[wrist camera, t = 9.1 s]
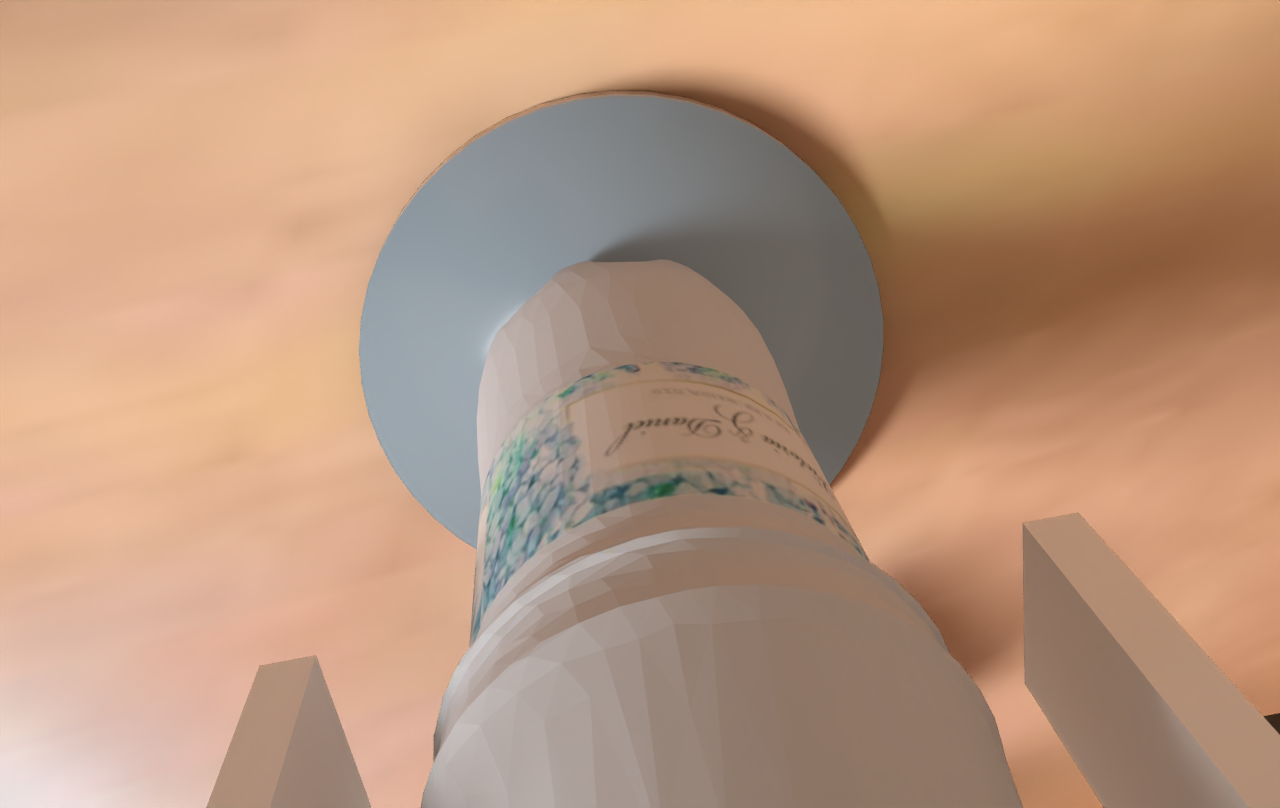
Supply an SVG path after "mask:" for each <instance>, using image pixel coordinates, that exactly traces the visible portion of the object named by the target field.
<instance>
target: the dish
mask: <svg viewBox="0 0 1280 808" xmlns="http://www.w3.org/2000/svg"><path fill="white" fill-rule="evenodd" d="M659 259H664V260H671V261H674V262H676V263H679V264H682V265H684V266H687V267H689V268H690V269H692V270H693V271H695V272H697V273H698V274H700V275H701V276H703V277H704V278H706V279H707V280H708V281H710V282H711V283H712V284H713V285H714V286H716V287H717V288H718V289H719V290H721V291H722V292H723V293H724V294H725V295H727V296H728V297H729V298H730V299H731V300H732V301H734V302H735V303H736V304H737V305H738V306H739V307H740V308H741V309H742V310H743V311H744V313H745V314H746V315H747V317H748V318H749V319H750V320H751V322H752V323H753V324H754V326H755V327H756V328H757V329H758V331H759V332H760V334H761V336H762V338H763V340H764V342H765V344H766V346H767V348H768V350H769V352H770V354H771V356H772V358H773V359H774V362H775V364H776V367H777V369H778V371H779V374H780V376H781V379H782V381H783V384H784V386H785V389H786V392H787V395H788V398H789V401H790V403H791V406H792V409H793V412H794V415H795V418H796V421H797V424H798V427H799V430H800V432H801V434H802V435H803V437H804V438H805V440H806V442H807V444H808V445H809V447H810V449H811V451H812V453H813V455H814V457H815V459H816V461H817V463H818V464H819V466H820V468H821V470H822V472H823V474H824V476H825V478H826V480H827V481H828V483H829V485H830V484H831V482H832V481H833V480H834V479H835V477H836V476H837V475H838V473H839V472H840V471H841V469H842V468H843V467H844V465H845V463H846V461H847V460H848V458H849V456H850V454H851V453H852V451H853V449H854V448H855V446H856V444H857V442H858V441H859V439H860V436H861V434H862V431H863V429H864V427H865V424H866V422H867V420H868V417H869V415H870V412H871V409H872V406H873V402H874V398H875V395H876V391H877V387H878V384H879V379H880V371H881V364H882V357H883V314H882V307H881V300H880V293H879V287H878V283H877V280H876V276H875V273H874V270H873V266H872V263H871V259H870V256H869V254H868V252H867V249H866V247H865V245H864V243H863V241H862V238H861V236H860V234H859V232H858V230H857V227H856V226H855V224H854V223H853V221H852V219H851V218H850V216H849V215H848V213H847V212H846V210H845V209H844V207H843V205H842V204H841V202H840V201H839V199H838V198H837V197H836V196H835V194H834V193H833V192H832V191H831V190H830V189H829V187H828V186H827V185H826V184H825V183H824V182H823V181H822V179H821V178H820V177H819V176H818V175H817V174H816V172H814V171H813V170H812V169H811V168H810V167H809V166H808V165H807V164H806V163H805V162H803V161H802V160H801V159H800V158H799V157H798V156H797V155H795V154H794V153H793V152H792V151H791V150H790V149H788V148H787V147H786V146H785V145H784V144H783V143H782V142H780V141H779V140H778V139H776V138H774V137H773V136H771V135H770V134H768V133H767V132H765V131H764V130H762V129H760V128H759V127H757V126H756V125H754V124H753V123H751V122H749V121H747V120H745V119H743V118H741V117H738V116H736V115H734V114H732V113H730V112H728V111H725V110H723V109H721V108H719V107H716V106H712V105H709V104H706V103H702V102H699V101H696V100H693V99H689V98H686V97H681V96H675V95H668V94H662V93H656V92H649V91H605V92H596V93H588V94H579V95H574V96H570V97H566V98H562V99H558V100H554V101H550V102H546V103H542V104H539V105H537V106H534V107H532V108H529V109H527V110H524V111H522V112H519V113H517V114H514V115H512V116H509V117H507V118H505V119H503V120H502V121H500V122H498V123H496V124H495V125H493V126H491V127H489V128H488V129H486V130H484V131H482V132H481V133H479V134H477V135H475V136H474V137H473V138H472V139H470V140H469V141H468V142H466V143H465V144H464V145H463V146H461V147H460V148H459V149H457V150H456V151H455V152H453V153H452V154H451V155H450V156H448V157H447V158H446V159H445V160H444V161H443V162H442V163H441V164H440V165H439V166H438V167H437V168H436V169H435V170H434V171H433V172H432V173H431V174H430V175H429V176H428V177H427V178H426V179H425V180H424V181H423V183H422V184H421V185H420V187H419V188H418V189H417V191H416V192H415V193H414V195H413V196H412V197H411V199H410V200H409V202H408V203H407V204H406V206H405V207H404V208H403V210H402V211H401V213H400V215H399V217H398V219H397V221H396V222H395V224H394V226H393V228H392V230H391V232H390V234H389V235H388V237H387V239H386V241H385V243H384V245H383V247H382V249H381V252H380V254H379V257H378V259H377V262H376V265H375V268H374V270H373V273H372V276H371V278H370V281H369V284H368V288H367V293H366V297H365V302H364V307H363V312H362V316H361V328H360V344H359V356H360V369H361V381H362V387H363V391H364V396H365V400H366V405H367V409H368V413H369V416H370V419H371V422H372V424H373V427H374V430H375V432H376V435H377V438H378V440H379V443H380V445H381V447H382V449H383V450H384V452H385V454H386V456H387V458H388V460H389V461H390V463H391V465H392V467H393V469H394V471H395V472H396V474H397V475H398V476H399V478H400V479H401V480H402V482H403V483H404V484H405V486H406V487H407V488H408V490H409V491H410V493H411V494H412V495H413V497H414V498H415V499H416V500H417V501H418V502H419V503H420V504H421V505H422V506H423V507H424V508H425V509H426V510H427V511H428V512H429V513H430V514H431V515H432V516H433V517H434V518H435V519H436V520H437V521H438V522H439V523H441V524H442V525H443V526H444V527H446V528H447V529H448V530H449V531H451V532H452V533H453V534H454V535H455V536H457V537H458V538H459V539H461V540H462V541H464V542H466V543H467V544H469V545H471V546H472V547H474V548H475V549H477V541H478V528H479V515H480V502H481V487H480V476H479V465H478V445H477V409H478V396H479V386H480V382H481V378H482V374H483V370H484V366H485V362H486V358H487V354H488V351H489V348H490V346H491V344H492V342H493V339H494V337H495V335H496V334H497V332H498V331H499V330H500V329H501V327H502V326H503V325H505V324H506V323H507V322H508V321H509V319H510V318H511V317H512V316H513V315H514V314H515V313H516V312H517V311H518V309H519V308H520V307H521V306H522V305H523V304H524V303H525V302H527V301H528V300H529V299H530V298H531V297H532V296H533V295H534V294H535V293H536V292H538V291H539V290H540V289H541V288H542V287H543V286H544V285H545V284H546V283H547V282H548V281H549V280H550V279H551V278H552V277H553V276H554V275H555V274H556V273H557V272H558V271H560V270H561V269H563V268H565V267H568V266H571V265H574V264H577V263H580V262H585V261H592V262H643V261H652V260H659Z"/></svg>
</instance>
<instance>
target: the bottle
mask: <svg viewBox="0 0 1280 808" xmlns="http://www.w3.org/2000/svg"><path fill="white" fill-rule="evenodd" d="M477 445H478V465H479V476H480V487H481V502H480V515H479V528H478V541H477V554H476V568H475V581H474V594H473V607H472V620H471V634H470V647H469V649H468V650H467V652H466V653H465V654H464V656H463V657H462V658H461V660H460V662H459V664H458V666H457V668H456V670H455V672H454V674H453V677H452V679H451V681H450V683H449V685H448V687H447V689H446V692H445V694H444V696H443V700H442V704H441V708H440V712H439V716H438V721H437V725H436V729H435V733H434V764H433V766H432V769H431V772H430V775H429V778H428V781H427V784H426V787H425V789H424V792H423V798H422V803H421V808H1023V806H1022V803H1021V800H1020V797H1019V795H1018V792H1017V789H1016V786H1015V783H1014V781H1013V778H1012V775H1011V772H1010V769H1009V767H1008V764H1007V761H1006V758H1005V754H1004V749H1003V745H1002V741H1001V738H1000V735H999V731H998V728H997V724H996V721H995V717H994V716H993V714H992V712H991V710H990V708H989V706H988V704H987V702H986V700H985V698H984V696H983V695H982V693H981V691H980V689H979V688H978V686H977V685H976V684H975V683H974V681H973V680H972V679H971V677H970V676H969V675H968V673H967V672H966V671H965V670H964V668H963V667H962V666H961V664H960V663H959V662H958V661H957V660H955V659H954V658H953V657H952V656H951V655H950V652H949V650H948V648H947V646H946V644H945V642H944V639H943V637H942V635H941V633H940V631H939V629H938V628H937V626H936V625H935V624H934V622H933V621H932V620H931V618H930V617H929V616H928V614H927V613H926V612H925V610H924V609H923V608H922V606H921V605H920V604H919V602H918V601H917V600H916V599H915V598H914V597H913V596H912V595H911V594H910V593H909V592H907V591H906V590H905V589H904V588H903V587H902V586H901V585H900V584H899V583H898V582H897V581H896V580H895V579H893V578H892V577H891V576H889V575H888V574H887V573H885V572H884V571H882V570H881V569H880V568H878V567H877V566H876V565H874V564H872V563H871V562H870V561H869V559H868V557H867V555H866V553H865V551H864V550H863V548H862V546H861V544H860V542H859V540H858V538H857V536H856V534H855V532H854V531H853V529H852V527H851V525H850V523H849V521H848V519H847V517H846V515H845V514H844V512H843V510H842V508H841V506H840V504H839V502H838V500H837V498H836V497H835V495H834V493H833V491H832V489H831V487H830V485H829V483H828V481H827V480H826V478H825V476H824V474H823V472H822V470H821V468H820V466H819V464H818V463H817V461H816V459H815V457H814V455H813V453H812V451H811V449H810V447H809V445H808V444H807V442H806V440H805V438H804V437H803V435H802V434H801V432H800V430H799V427H798V424H797V421H796V418H795V415H794V412H793V409H792V406H791V403H790V401H789V398H788V395H787V392H786V389H785V386H784V384H783V381H782V379H781V376H780V374H779V371H778V369H777V367H776V364H775V362H774V359H773V358H772V356H771V354H770V352H769V350H768V348H767V346H766V344H765V342H764V340H763V338H762V336H761V334H760V332H759V331H758V329H757V328H756V327H755V326H754V324H753V323H752V322H751V320H750V319H749V318H748V317H747V315H746V314H745V313H744V311H743V310H742V309H741V308H740V307H739V306H738V305H737V304H736V303H735V302H734V301H732V300H731V299H730V298H729V297H728V296H727V295H725V294H724V293H723V292H722V291H721V290H719V289H718V288H717V287H716V286H714V285H713V284H712V283H711V282H710V281H708V280H707V279H706V278H704V277H703V276H701V275H700V274H698V273H697V272H695V271H693V270H692V269H690V268H689V267H687V266H684V265H682V264H679V263H676V262H674V261H671V260H664V259H659V260H652V261H643V262H592V261H585V262H580V263H577V264H574V265H571V266H568V267H565V268H563V269H561V270H560V271H558V272H557V273H556V274H555V275H554V276H553V277H552V278H551V279H550V280H549V281H548V282H547V283H546V284H545V285H544V286H543V287H542V288H541V289H540V290H539V291H538V292H536V293H535V294H534V295H533V296H532V297H531V298H530V299H529V300H528V301H527V302H525V303H524V304H523V305H522V306H521V307H520V308H519V309H518V311H517V312H516V313H515V314H514V315H513V316H512V317H511V318H510V319H509V321H508V322H507V323H506V324H505V325H503V326H502V327H501V329H500V330H499V331H498V332H497V334H496V335H495V337H494V339H493V342H492V344H491V346H490V348H489V351H488V354H487V358H486V362H485V366H484V370H483V374H482V378H481V382H480V386H479V396H478V409H477Z"/></svg>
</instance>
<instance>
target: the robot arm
mask: <svg viewBox="0 0 1280 808" xmlns="http://www.w3.org/2000/svg"><path fill="white" fill-rule="evenodd" d="M1023 591H1024V668H1025V684H1026V686H1027V688H1028V689H1029V691H1030V692H1031V694H1032V695H1033V697H1034V699H1035V700H1036V702H1037V703H1038V705H1039V706H1040V708H1041V710H1042V711H1043V713H1044V714H1045V716H1046V717H1047V719H1048V721H1049V722H1050V724H1051V725H1052V727H1053V729H1054V730H1055V732H1056V733H1057V735H1058V736H1059V738H1060V740H1061V741H1062V743H1063V744H1064V746H1065V747H1066V749H1067V751H1068V752H1069V754H1070V755H1071V757H1072V758H1073V760H1074V762H1075V763H1076V765H1077V766H1078V768H1079V770H1080V771H1081V773H1082V774H1083V776H1084V777H1085V779H1086V781H1087V782H1088V784H1089V785H1090V787H1091V788H1092V790H1093V792H1094V793H1095V795H1096V796H1097V798H1098V800H1099V801H1100V803H1101V804H1102V806H1103V807H1104V808H1280V713H1278V714H1273V715H1268V716H1262V715H1261V714H1260V712H1259V711H1258V710H1257V709H1256V708H1255V707H1254V706H1253V705H1252V704H1251V703H1250V701H1249V700H1248V699H1247V698H1246V697H1245V696H1244V695H1243V694H1242V693H1241V691H1240V690H1239V689H1238V688H1237V687H1236V686H1235V685H1234V684H1233V683H1232V682H1231V680H1230V679H1229V678H1228V677H1227V676H1226V675H1225V674H1224V673H1223V672H1222V671H1221V669H1220V668H1219V667H1218V666H1217V665H1216V664H1215V663H1214V662H1213V661H1212V659H1211V658H1210V657H1209V656H1208V655H1207V654H1206V653H1205V652H1204V651H1203V650H1202V648H1201V647H1200V646H1199V645H1198V644H1197V643H1196V642H1195V641H1194V640H1193V639H1192V637H1191V636H1190V635H1189V634H1188V633H1187V632H1186V631H1185V630H1184V629H1183V627H1182V626H1181V625H1180V624H1179V623H1178V622H1177V621H1176V620H1175V619H1174V618H1173V616H1172V615H1171V614H1170V613H1169V612H1168V611H1167V610H1166V609H1165V608H1164V607H1163V605H1162V604H1161V603H1160V602H1159V601H1158V600H1157V599H1156V598H1155V597H1154V595H1153V594H1152V593H1151V592H1150V591H1149V590H1148V589H1147V588H1146V587H1145V586H1144V584H1143V583H1142V582H1141V581H1140V580H1139V579H1138V578H1137V577H1136V576H1135V575H1134V573H1133V572H1132V571H1131V570H1130V569H1129V568H1128V567H1127V566H1126V565H1125V563H1124V562H1123V561H1122V560H1121V559H1120V558H1119V557H1118V556H1117V555H1116V554H1115V552H1114V551H1113V550H1112V549H1111V548H1110V547H1109V546H1108V545H1107V544H1106V543H1105V541H1104V540H1103V539H1102V538H1101V537H1100V536H1099V535H1098V534H1097V533H1096V531H1095V530H1094V529H1093V528H1092V527H1091V526H1090V525H1089V524H1088V523H1087V522H1086V520H1085V519H1084V518H1083V517H1082V516H1081V515H1080V514H1079V513H1073V514H1068V515H1062V516H1057V517H1052V518H1046V519H1041V520H1036V521H1030V522H1025V523H1023ZM206 808H371V805H370V802H369V799H368V797H367V794H366V791H365V788H364V786H363V783H362V780H361V777H360V775H359V772H358V769H357V766H356V764H355V761H354V758H353V756H352V753H351V750H350V747H349V745H348V742H347V739H346V736H345V734H344V731H343V728H342V725H341V723H340V720H339V717H338V714H337V712H336V709H335V706H334V703H333V701H332V698H331V695H330V692H329V690H328V687H327V684H326V681H325V679H324V676H323V673H322V671H321V668H320V665H319V662H318V660H317V657H316V655H315V656H310V657H304V658H299V659H294V660H288V661H283V662H278V663H272V664H267V665H262V666H259V669H258V671H257V674H256V677H255V679H254V682H253V685H252V687H251V690H250V693H249V695H248V698H247V701H246V703H245V706H244V709H243V711H242V714H241V717H240V719H239V722H238V725H237V727H236V730H235V733H234V735H233V738H232V741H231V743H230V746H229V749H228V751H227V754H226V757H225V759H224V762H223V765H222V767H221V770H220V773H219V775H218V778H217V781H216V783H215V786H214V789H213V791H212V794H211V797H210V799H209V802H208V805H207V807H206Z"/></svg>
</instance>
